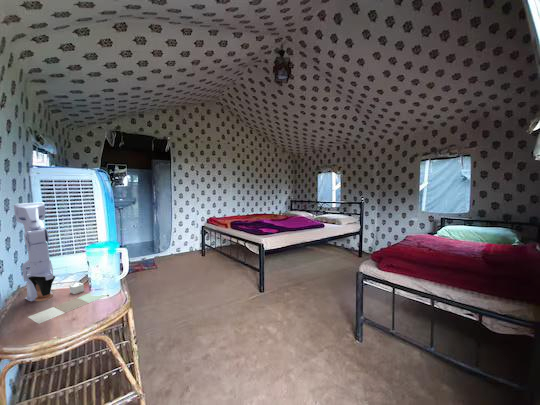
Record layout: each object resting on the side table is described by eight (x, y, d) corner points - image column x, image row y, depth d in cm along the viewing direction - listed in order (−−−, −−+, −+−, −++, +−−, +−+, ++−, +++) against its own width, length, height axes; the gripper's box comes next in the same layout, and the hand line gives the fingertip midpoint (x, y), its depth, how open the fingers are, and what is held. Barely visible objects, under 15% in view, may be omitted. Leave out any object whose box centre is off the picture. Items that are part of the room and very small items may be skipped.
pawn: (32, 299, 97) (31, 284, 96) (49, 293, 102) (47, 279, 101) (38, 302, 95) (36, 287, 94) (55, 296, 99) (53, 282, 98)
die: (70, 293, 118) (69, 285, 117) (80, 290, 121) (79, 282, 121) (74, 295, 116) (73, 287, 115) (84, 292, 119) (83, 283, 119)
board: (27, 318, 98) (27, 317, 98) (97, 291, 120) (97, 290, 120) (38, 325, 93) (38, 323, 93) (108, 295, 115) (108, 294, 115)
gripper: (18, 260, 96) (22, 294, 98) (34, 266, 89) (38, 302, 91) (41, 255, 102) (45, 286, 104) (58, 260, 96) (62, 294, 97)
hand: (43, 293), depth 98 cm, fingers closed on pawn, 4 cm apart
